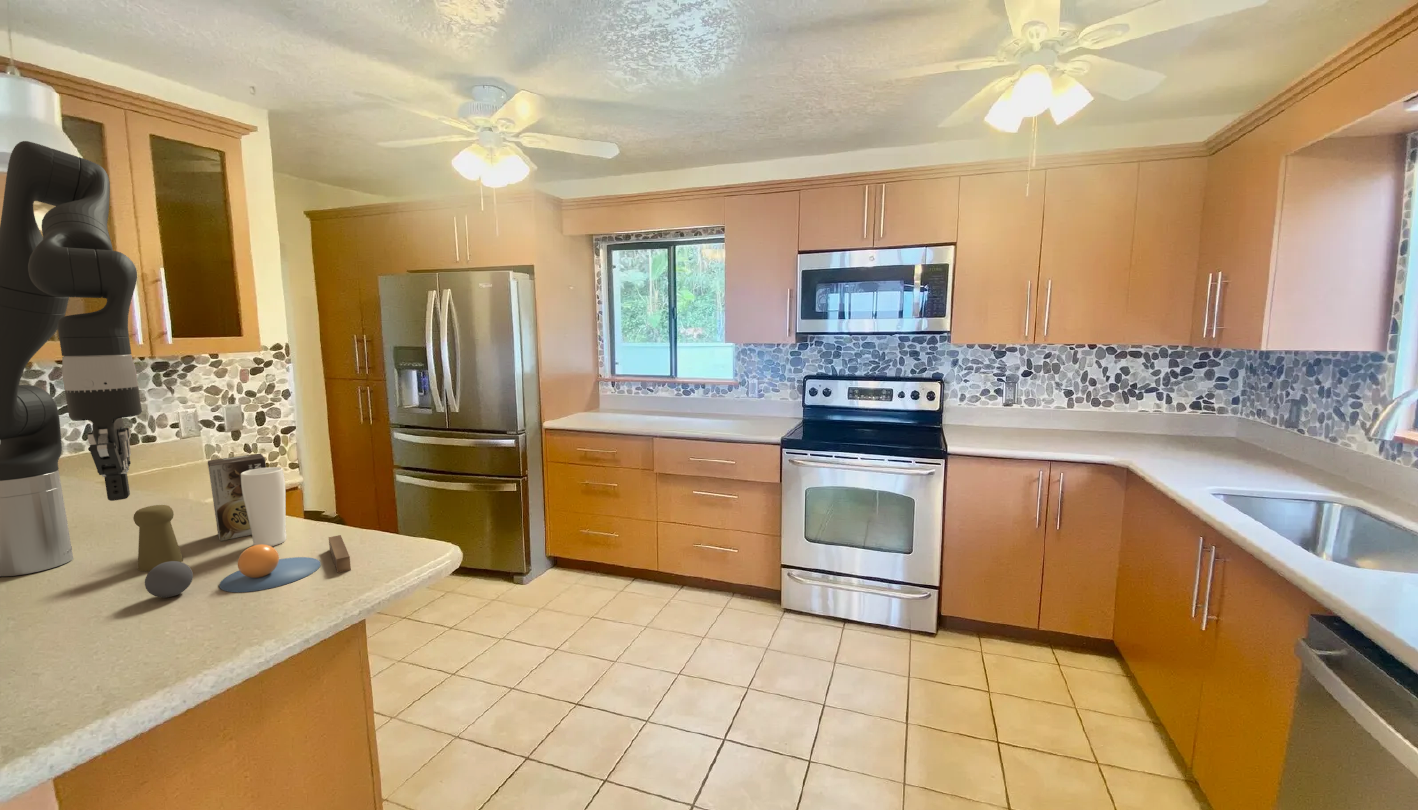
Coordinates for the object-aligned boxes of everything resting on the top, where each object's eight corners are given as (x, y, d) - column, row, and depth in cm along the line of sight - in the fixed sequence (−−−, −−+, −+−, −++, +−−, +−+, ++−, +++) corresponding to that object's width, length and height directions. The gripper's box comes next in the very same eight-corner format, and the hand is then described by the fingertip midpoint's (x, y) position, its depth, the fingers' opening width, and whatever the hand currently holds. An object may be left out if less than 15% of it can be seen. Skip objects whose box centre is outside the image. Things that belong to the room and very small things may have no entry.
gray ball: (158, 560, 88) (199, 574, 91) (164, 551, 92) (203, 565, 95) (131, 594, 86) (173, 607, 89) (139, 583, 91) (179, 596, 94)
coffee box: (270, 523, 126) (262, 452, 124) (274, 530, 121) (266, 457, 119) (216, 534, 120) (206, 459, 118) (219, 541, 115) (209, 464, 113)
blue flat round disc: (217, 600, 89) (217, 599, 89) (221, 572, 100) (221, 570, 100) (323, 576, 98) (323, 574, 98) (317, 552, 109) (317, 551, 109)
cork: (154, 572, 100) (146, 512, 99) (128, 570, 101) (119, 510, 100) (191, 559, 106) (184, 502, 105) (166, 557, 107) (158, 500, 106)
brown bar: (337, 572, 99) (336, 559, 99) (329, 549, 110) (328, 537, 110) (350, 569, 100) (349, 556, 100) (341, 547, 111) (340, 535, 111)
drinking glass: (298, 540, 115) (290, 468, 113) (261, 551, 109) (252, 476, 107) (279, 535, 118) (271, 465, 116) (241, 546, 112) (232, 473, 110)
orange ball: (253, 543, 95) (287, 557, 98) (253, 535, 99) (285, 548, 102) (228, 574, 93) (264, 587, 96) (229, 564, 97) (263, 577, 100)
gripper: (130, 387, 81) (146, 504, 83) (144, 381, 91) (159, 485, 94) (51, 391, 77) (71, 514, 79) (76, 384, 87) (93, 494, 89)
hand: (119, 498), depth 86 cm, fingers closed
